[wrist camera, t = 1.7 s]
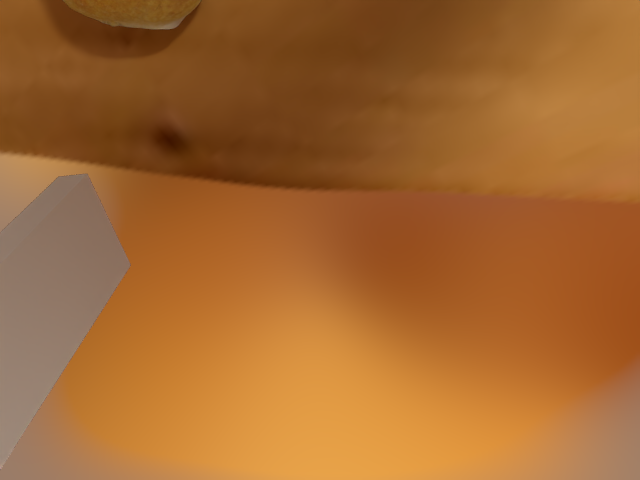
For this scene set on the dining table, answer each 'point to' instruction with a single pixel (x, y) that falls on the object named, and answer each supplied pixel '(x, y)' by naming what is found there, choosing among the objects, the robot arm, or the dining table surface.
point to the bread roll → (136, 12)
